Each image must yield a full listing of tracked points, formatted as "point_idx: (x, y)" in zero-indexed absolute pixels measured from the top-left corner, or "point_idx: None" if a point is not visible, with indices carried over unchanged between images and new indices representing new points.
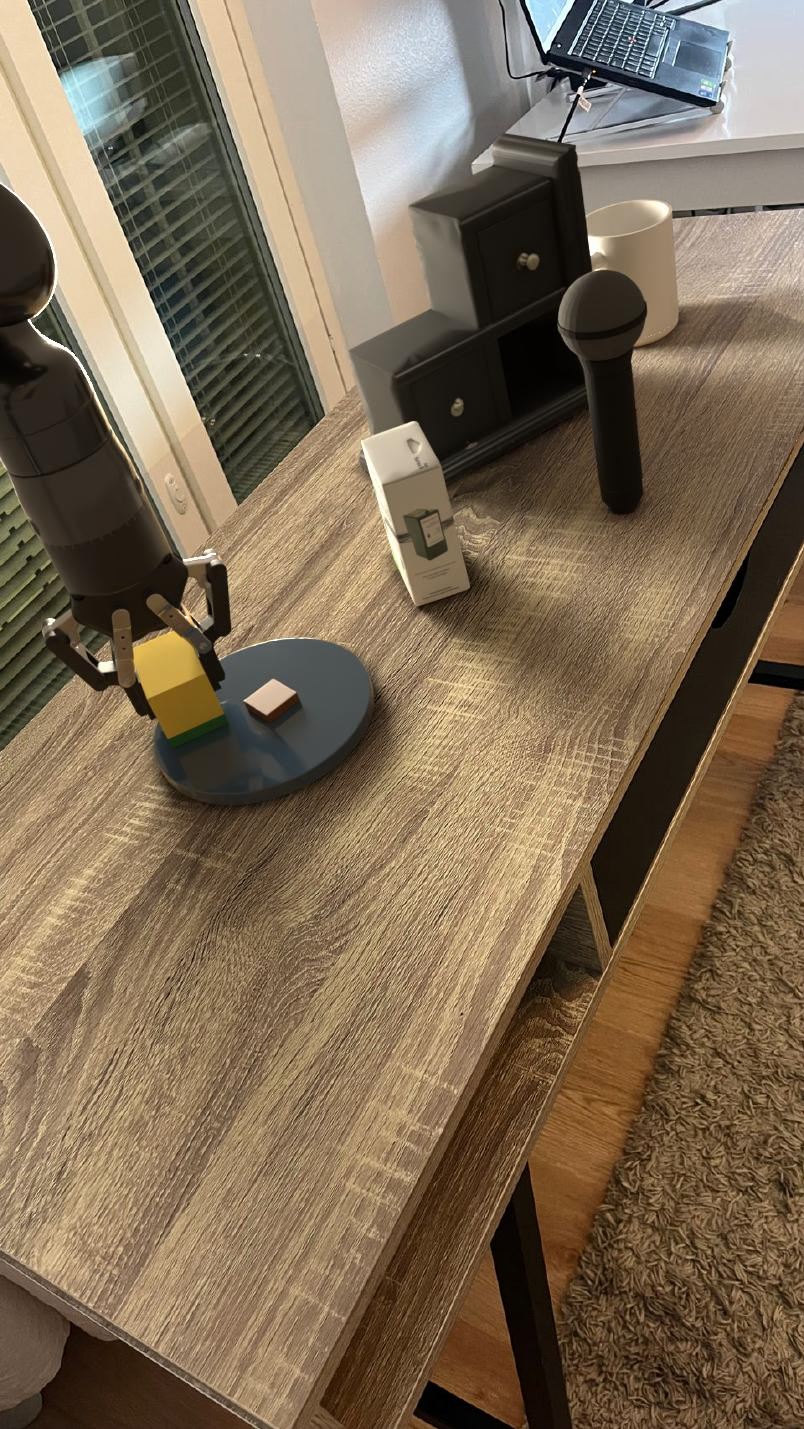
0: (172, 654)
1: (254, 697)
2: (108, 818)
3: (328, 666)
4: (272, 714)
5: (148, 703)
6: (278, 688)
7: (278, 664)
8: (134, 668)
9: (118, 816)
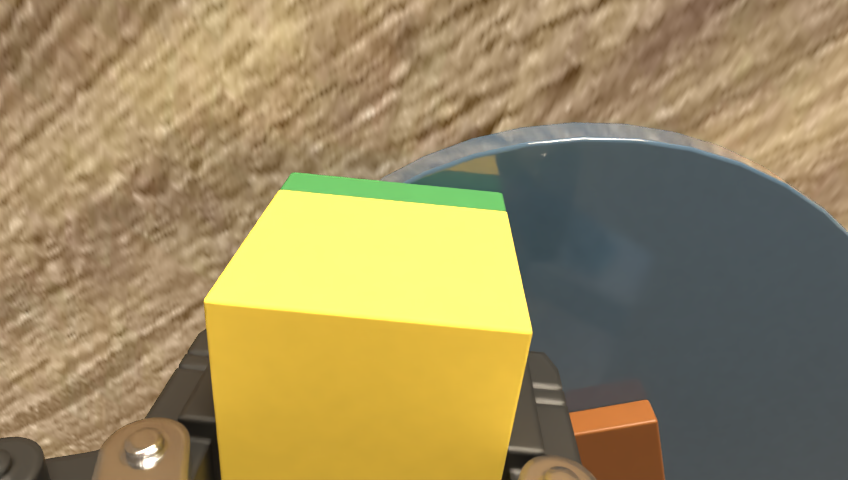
0: (399, 476)
1: None
2: (104, 434)
3: (806, 426)
4: None
5: None
6: (641, 464)
7: (715, 320)
8: (213, 425)
9: None
